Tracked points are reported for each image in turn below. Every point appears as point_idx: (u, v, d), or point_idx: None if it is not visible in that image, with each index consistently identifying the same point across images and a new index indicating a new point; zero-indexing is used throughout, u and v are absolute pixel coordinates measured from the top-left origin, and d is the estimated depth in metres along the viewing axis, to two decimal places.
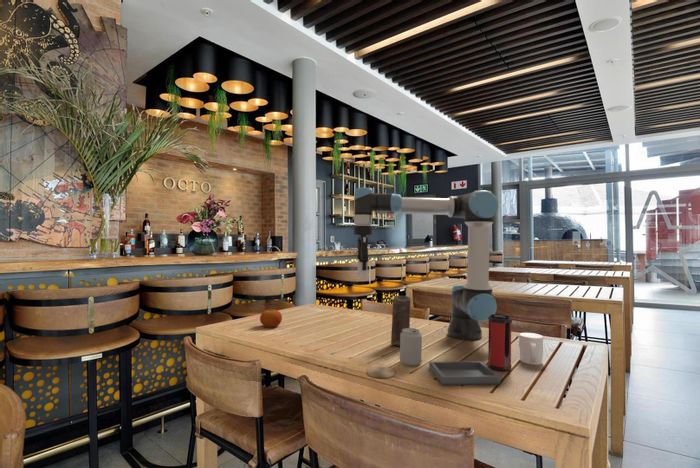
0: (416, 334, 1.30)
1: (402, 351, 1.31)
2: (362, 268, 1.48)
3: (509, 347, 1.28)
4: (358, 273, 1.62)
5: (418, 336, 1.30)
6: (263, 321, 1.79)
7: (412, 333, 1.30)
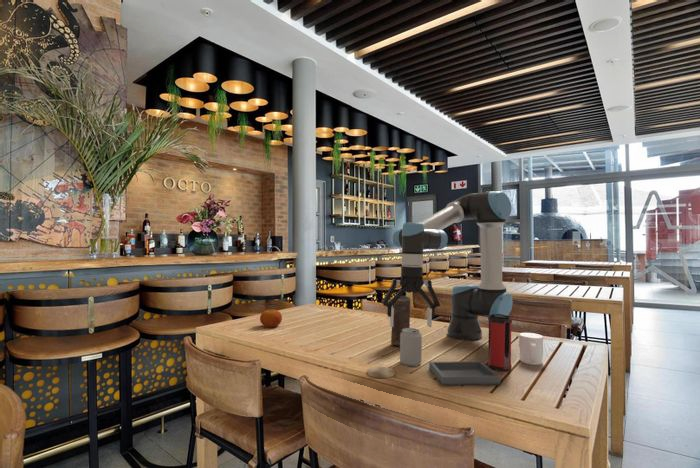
0: (416, 334, 1.30)
1: (402, 351, 1.31)
2: None
3: (509, 347, 1.28)
4: (427, 323, 1.34)
5: (418, 336, 1.30)
6: (263, 321, 1.79)
7: (412, 333, 1.30)
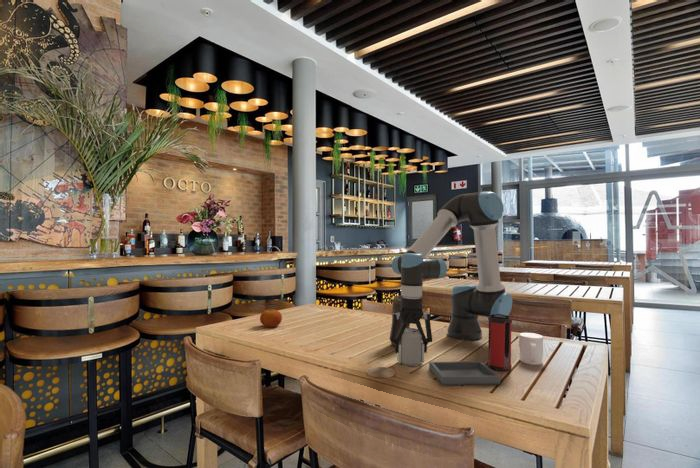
0: (416, 334, 1.30)
1: (402, 351, 1.31)
2: None
3: (509, 347, 1.28)
4: None
5: (418, 336, 1.30)
6: (263, 321, 1.79)
7: (412, 333, 1.30)
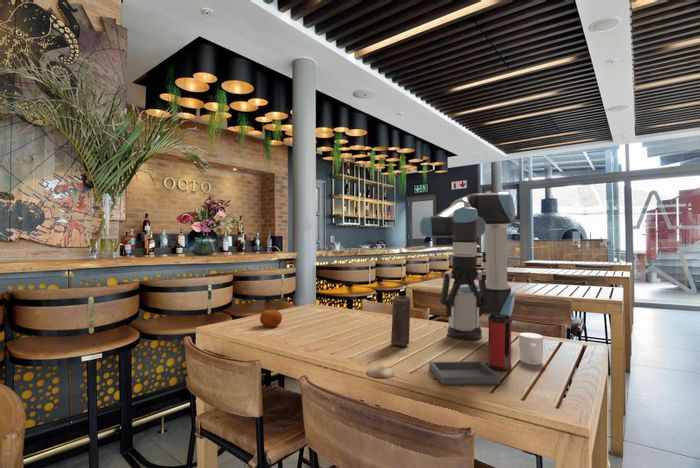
0: (471, 295, 1.19)
1: (455, 314, 1.19)
2: None
3: (509, 347, 1.28)
4: None
5: (473, 298, 1.18)
6: (263, 321, 1.79)
7: (467, 294, 1.18)
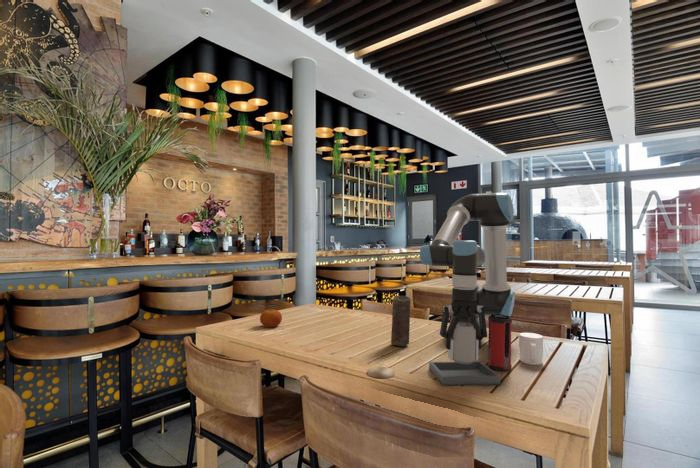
0: (470, 328, 1.19)
1: (455, 347, 1.19)
2: None
3: (509, 347, 1.28)
4: None
5: (473, 331, 1.18)
6: (263, 321, 1.79)
7: (466, 327, 1.18)
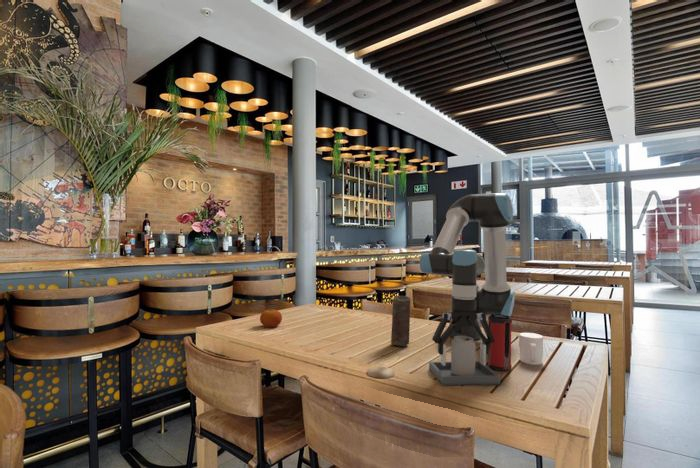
0: (470, 343, 1.19)
1: (455, 361, 1.19)
2: None
3: (509, 347, 1.28)
4: (480, 360, 1.23)
5: (473, 345, 1.18)
6: (263, 321, 1.79)
7: (466, 341, 1.18)
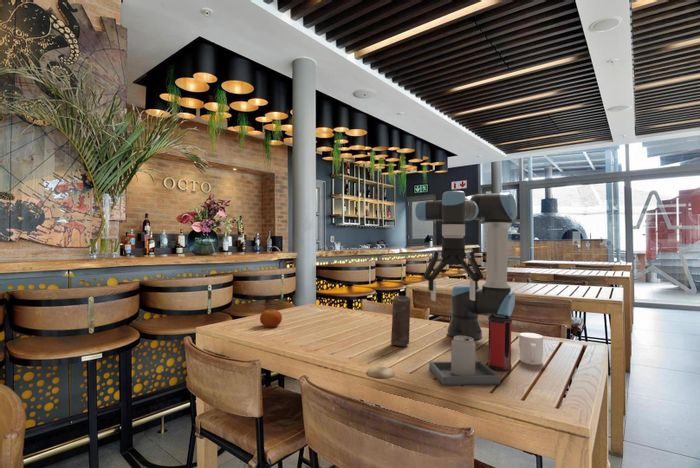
0: (470, 343, 1.19)
1: (455, 361, 1.19)
2: None
3: (509, 347, 1.28)
4: (470, 297, 1.29)
5: (473, 345, 1.18)
6: (263, 321, 1.79)
7: (466, 342, 1.18)
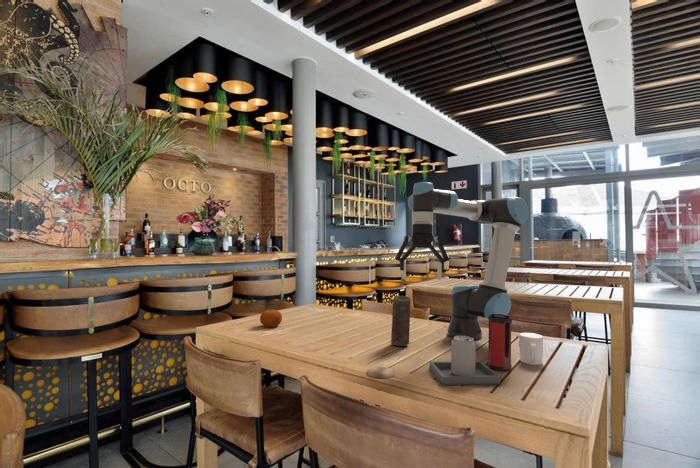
0: (470, 343, 1.19)
1: (455, 361, 1.19)
2: None
3: (509, 347, 1.28)
4: (437, 277, 1.44)
5: (473, 345, 1.18)
6: (263, 321, 1.79)
7: (466, 342, 1.18)
